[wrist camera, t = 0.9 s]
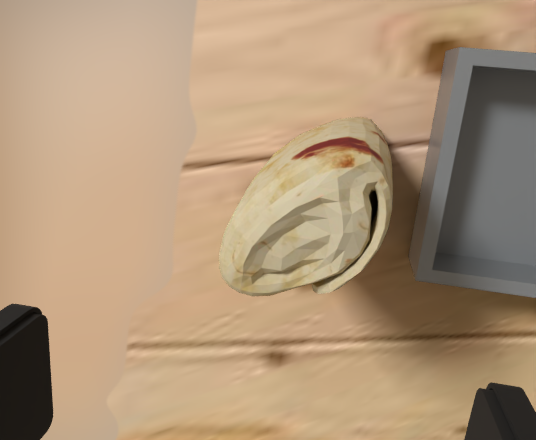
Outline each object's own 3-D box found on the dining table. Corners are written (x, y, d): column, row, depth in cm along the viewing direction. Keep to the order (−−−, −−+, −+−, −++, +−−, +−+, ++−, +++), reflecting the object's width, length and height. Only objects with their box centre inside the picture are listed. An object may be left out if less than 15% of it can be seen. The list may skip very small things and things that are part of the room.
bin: (641, 66, 33) (688, 64, 29) (577, 279, 38) (608, 308, 33) (445, 51, 35) (459, 47, 30) (408, 256, 40) (415, 280, 35)
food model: (351, 88, 37) (346, 102, 18) (403, 157, 38) (451, 239, 19) (255, 166, 40) (165, 248, 21) (305, 228, 41) (262, 360, 22)
